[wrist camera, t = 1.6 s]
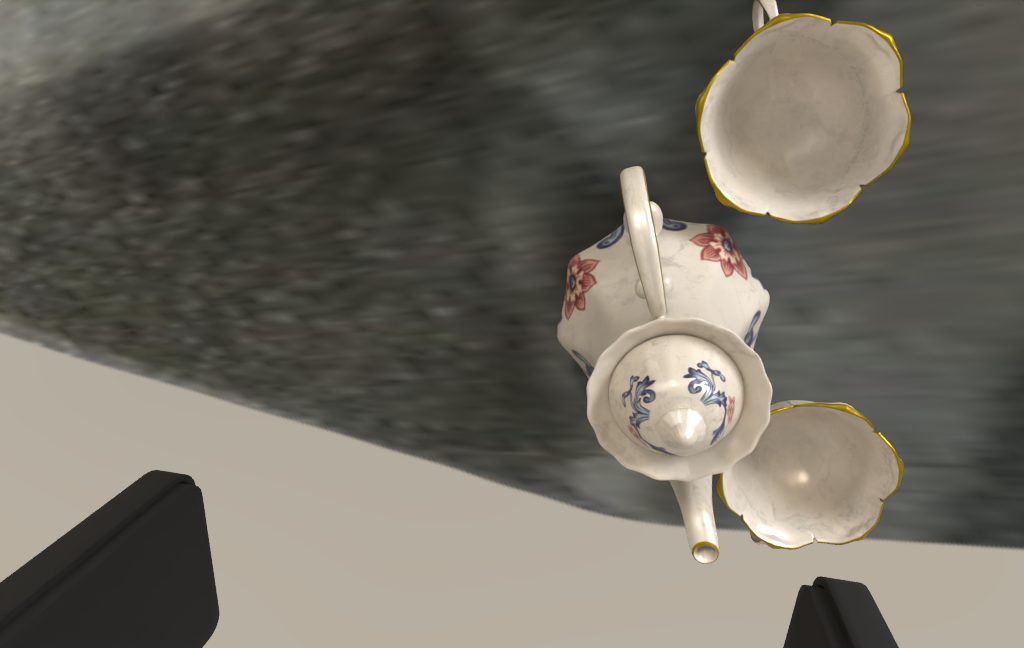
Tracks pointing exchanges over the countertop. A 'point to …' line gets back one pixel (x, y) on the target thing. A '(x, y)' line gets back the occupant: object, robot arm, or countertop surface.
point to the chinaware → (742, 295)
